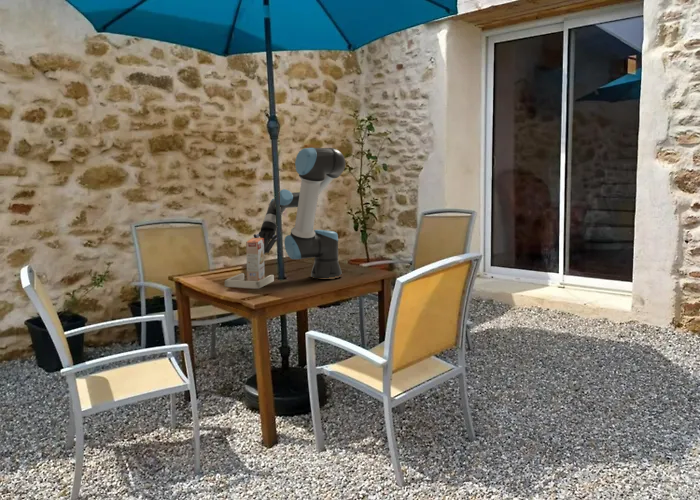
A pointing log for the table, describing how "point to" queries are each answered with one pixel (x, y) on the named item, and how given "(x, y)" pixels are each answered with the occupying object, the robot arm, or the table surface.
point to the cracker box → (255, 259)
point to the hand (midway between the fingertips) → (256, 263)
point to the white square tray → (247, 282)
